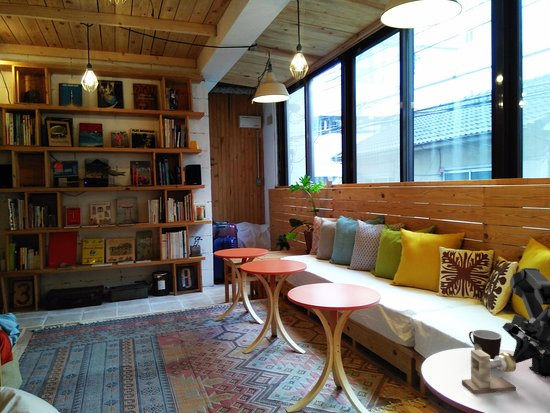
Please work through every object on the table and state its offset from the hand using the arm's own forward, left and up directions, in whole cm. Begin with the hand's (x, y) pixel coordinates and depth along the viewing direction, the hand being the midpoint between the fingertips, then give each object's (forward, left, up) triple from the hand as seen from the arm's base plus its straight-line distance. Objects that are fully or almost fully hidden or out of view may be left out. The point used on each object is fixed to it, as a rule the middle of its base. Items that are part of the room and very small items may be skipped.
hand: (513, 362), depth 114 cm
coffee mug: (-2, -16, -7) cm, 18 cm away
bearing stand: (+8, 0, -7) cm, 11 cm away
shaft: (+5, 0, -3) cm, 6 cm away
